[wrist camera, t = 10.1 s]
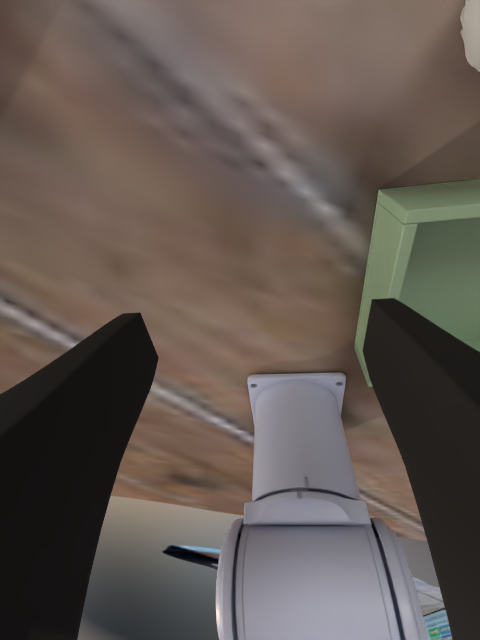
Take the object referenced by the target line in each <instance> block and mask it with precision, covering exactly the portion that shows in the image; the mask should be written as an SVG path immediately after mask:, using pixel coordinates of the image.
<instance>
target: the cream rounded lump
mask: <svg viewBox="0 0 480 640" xmlns="http://www.w3.org/2000/svg"><path fill="white" fill-rule="evenodd" d="M465 2H466V4H465V6H464V7H463V9H462V11H461V16H460V20H461V23H462V26H463V29H462V30H461V36H462V39H463V41H464V47H465V55H466V59H467V62H468V63H469V64H470V65H471V66H472V67H474V68H476V69H477V70H478V71H479V72H480V0H465Z"/></svg>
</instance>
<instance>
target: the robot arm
mask: <svg viewBox="0 0 480 640" xmlns="http://www.w3.org/2000/svg"><path fill="white" fill-rule="evenodd" d="M362 351H363V355H364V359H365V363H366V367H367V371H368V374H369V378H370V381H371V384H372V386H373V389H374V391H375V393H376V396H377V398H378V401H379V403H380V406H381V408H382V410H383V413H384V415H385V418H386V420H387V422H388V425H389V427H390V429H391V432H392V434H393V437H394V439H395V441H396V444H397V446H398V448H399V451H400V454H401V456H402V459H403V462H404V464H405V467H406V470H407V474H408V477H409V480H410V483H411V487H412V490H413V493H414V496H415V500H416V503H417V506H418V510H419V513H420V517H421V520H422V524H423V527H424V531H425V534H426V538H427V541H428V545H429V548H430V551H431V556H432V559H433V563H434V567H435V571H436V575H437V578H438V582H439V586H440V590H441V594H442V598H443V601H444V606H445V610H446V614H447V618H448V622H449V626H450V631H451V635H452V639H453V640H480V352H479V351H477V350H476V349H474V348H472V347H471V346H469V345H467V344H466V343H464V342H462V341H461V340H459V339H458V338H456V337H454V336H453V335H451V334H450V333H448V332H447V331H445V330H443V329H442V328H440V327H439V326H437V325H436V324H434V323H433V322H431V321H430V320H428V319H427V318H425V317H423V316H422V315H420V314H419V313H417V312H416V311H414V310H413V309H411V308H410V307H408V306H407V305H405V304H403V303H402V302H400V301H398V300H397V299H395V298H385V299H372V301H371V306H370V312H369V317H368V323H367V328H366V334H365V339H364V345H363V350H362ZM157 362H158V355H157V353H156V351H155V348H154V346H153V343H152V341H151V338H150V336H149V333H148V331H147V328H146V326H145V323H144V321H143V318H142V316H141V313H127V314H122V315H120V316H118V317H116V318H115V319H113V320H112V321H110V322H109V323H107V324H106V325H104V326H103V327H101V328H100V329H98V330H97V331H96V332H94V333H93V334H91V335H90V336H89V337H87V338H86V339H84V340H83V341H81V342H80V343H79V344H77V345H76V346H74V347H73V348H72V349H70V350H69V351H67V352H66V353H64V354H63V355H62V356H60V357H59V358H57V359H56V360H54V361H53V362H51V363H50V364H48V365H47V366H45V367H43V368H42V369H40V370H39V371H37V372H36V373H34V374H33V375H31V376H30V377H28V378H27V379H25V380H24V381H22V382H20V383H19V384H17V385H15V386H14V387H12V388H10V389H9V390H7V391H5V392H4V393H2V394H0V640H77V638H78V632H79V627H80V622H81V617H82V612H83V607H84V602H85V597H86V592H87V587H88V583H89V578H90V573H91V569H92V565H93V561H94V557H95V552H96V548H97V544H98V540H99V536H100V532H101V528H102V524H103V521H104V517H105V513H106V510H107V506H108V502H109V499H110V495H111V492H112V489H113V485H114V482H115V479H116V475H117V472H118V469H119V465H120V462H121V460H122V457H123V454H124V451H125V449H126V446H127V444H128V441H129V439H130V437H131V434H132V432H133V429H134V427H135V425H136V422H137V420H138V417H139V415H140V413H141V410H142V408H143V405H144V403H145V400H146V398H147V396H148V393H149V391H150V388H151V385H152V382H153V378H154V375H155V371H156V367H157ZM247 382H248V389H249V395H250V402H251V408H252V414H253V421H254V427H255V437H254V463H253V489H252V502H245V504H244V519H237V520H235V521H234V523H233V524H232V526H231V528H230V529H229V531H228V532H227V534H226V536H225V538H224V541H223V544H222V547H221V552H220V557H219V563H218V572H217V583H216V619H217V629H218V634H219V639H220V640H428V637H427V632H426V627H425V623H424V618H423V614H422V610H421V606H420V602H419V599H418V595H417V592H416V588H415V585H414V581H413V578H412V575H411V572H410V569H409V566H408V563H407V560H406V557H405V555H404V552H403V549H402V547H401V544H400V542H399V540H398V538H397V536H396V534H395V533H394V531H393V530H391V529H390V528H389V527H388V526H387V525H386V524H385V523H384V521H383V520H382V519H380V518H371V519H370V516H369V512H368V508H367V504H366V501H365V500H361V499H360V495H359V490H358V486H357V482H356V478H355V474H354V469H353V465H352V461H351V457H350V453H349V449H348V444H347V440H346V436H345V432H344V428H343V423H342V419H341V410H342V404H343V397H344V390H345V383H346V377H345V374H344V373H340V372H337V373H298V374H258V375H250V376H248V380H247Z"/></svg>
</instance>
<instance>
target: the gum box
mask: <svg viewBox="0 0 480 640" xmlns="http://www.w3.org/2000/svg"><path fill="white" fill-rule="evenodd" d="M423 618H424V623H425V627H426V632H427V637H428V640H453V639H452V635H451V631H450V626H449V622H448V618H447V614H446V610H445V609H444V610H441V611H439V612H435V613H432V614H430V615H427V616H424V617H423Z"/></svg>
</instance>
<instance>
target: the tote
mask: <svg viewBox="0 0 480 640" xmlns="http://www.w3.org/2000/svg"><path fill="white" fill-rule="evenodd" d="M385 298H395V299H397V300H398V301H400V302H402V303H403V304H405V305H407V306H408V307H410V308H411V309H413V310H414V311H416V312H417V313H419V314H420V315H422V316H423V317H425V318H427V319H428V320H430V321H431V322H433V323H434V324H436V325H437V326H439V327H440V328H442V329H443V330H445V331H447V332H448V333H450V334H451V335H453V336H454V337H456V338H458V339H459V340H461V341H462V342H464V343H466V344H467V345H469V346H471V347H472V348H474V349H476V350H477V351H479V352H480V179H474V180H465V181H455V182H446V183H437V184H427V185H418V186H409V187H399V188H390V189H381V190H379V191H378V197H377V204H376V210H375V217H374V223H373V229H372V236H371V242H370V249H369V255H368V261H367V268H366V274H365V280H364V287H363V293H362V300H361V306H360V312H359V319H358V325H357V332H356V338H355V344H354V349H355V352H356V355H357V357H358V360H359V363H360V366H361V368H362V371H363V374H364V377H365V379H366V382H367V385H368V387H373V386H372V384H371V381H370V378H369V374H368V371H367V367H366V363H365V359H364V355H363V351H362V350H363V345H364V339H365V334H366V328H367V323H368V317H369V312H370V306H371V301H372V299H385Z"/></svg>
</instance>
